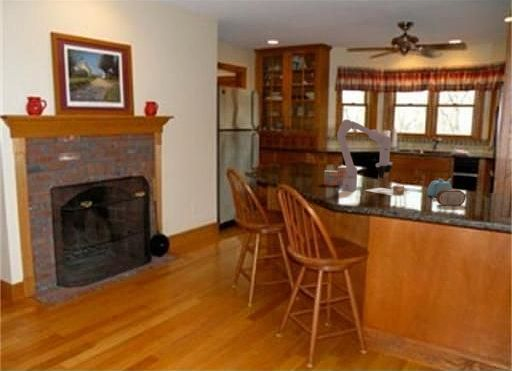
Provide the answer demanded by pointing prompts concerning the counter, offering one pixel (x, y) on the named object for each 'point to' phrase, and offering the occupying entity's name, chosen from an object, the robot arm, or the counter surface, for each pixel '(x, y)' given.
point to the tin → (450, 197)
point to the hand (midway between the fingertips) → (383, 177)
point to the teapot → (438, 187)
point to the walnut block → (384, 176)
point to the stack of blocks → (335, 176)
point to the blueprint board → (385, 191)
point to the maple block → (398, 189)
